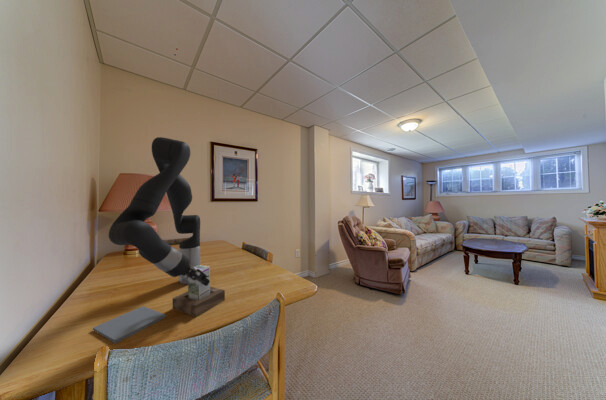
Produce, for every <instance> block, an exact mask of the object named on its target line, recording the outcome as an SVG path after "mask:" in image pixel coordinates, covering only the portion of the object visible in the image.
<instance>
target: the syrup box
mask: <svg viewBox="0 0 606 400" xmlns="http://www.w3.org/2000/svg"><path fill="white" fill-rule="evenodd" d="M194 268H195V269H196V270H197V269H200V270H201V271H202V272H203V273H204V274H205V275H207V277H206V278H207V279H208V280H210V282H209V284H208V285H207V286H205V285H203V284H202V283H200V282H199V281H197V280H191V279H190V278H188V284H187V291H188V298H189V299H193V300H196V301H198V300H200V299H202V298H204V297H206V296H208V295H210V287H211V273H210V272H211V271H210V269H211V268H210V266H209V265H208V266H207V265H201V264H200V265H198V266H195V267H194ZM192 278H194V276H193V277H192Z"/></svg>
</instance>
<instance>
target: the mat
mask: <svg viewBox="0 0 606 400" xmlns="http://www.w3.org/2000/svg"><path fill="white" fill-rule="evenodd" d="M163 319H167V314H165V313H162V312H160V311H157V310H155V309H152V308H149V307H147V306H145V305H143V306H140V307H138V308H135V309H133V310H130V311H129V312H126V313H123V314H122V315H119V316H117V317H114V318H112V319H109V320H107V321H105V322H102V323H100V324H97V325H95V326H93V327H92V331H93V330H94V331H96V332H98V333H99V334H101V335H103V336H104V337H106V338H107V339H106V338H105V339H106V340H108V339H109V340H110V342H111V341H112V342H111V343H113V344H115V345H116V344H118V343H120V342H122V341H123V339H124V340H125V338H126V339H127V338H130V337H131V336H133V335H135V334H137V333H139V332H140V331H143V330H145V329H147V328H149V327H151V326H152V325H154V324H156V323H158V322H160V321H162V320H163ZM94 331H93V332H94ZM96 332H95V333H96ZM98 333H97V334H98ZM99 334H98V335H99ZM101 335H100V336H101ZM103 336H102V337H103ZM104 337H103V338H104ZM109 340H108V341H109Z"/></svg>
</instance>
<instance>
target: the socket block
mask: <svg viewBox="0 0 606 400" xmlns="http://www.w3.org/2000/svg"><path fill="white" fill-rule="evenodd" d="M225 295H226V291H225V290H224V289H223V288H217V287H213V286H210V295H208V296H206V297H204V298H202V299H200V300H198V301H196V300H193V299H189V298H188V290H187V291H186V292H183V293H181V294H178V295H177V296H175V297H172V309H173V310H174V311H177V312H181V313H184V314H186V315H188V316H192V317H194V318H197V317H199V316H200V315H201V314H204V313H205V312H207V311H209V310H210V309H212V308H213V307H215V306H217V305H219V304H221V303H222V302H224V301H225V300H226V297H225Z"/></svg>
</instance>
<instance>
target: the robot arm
mask: <svg viewBox="0 0 606 400" xmlns="http://www.w3.org/2000/svg"><path fill="white" fill-rule="evenodd" d="M151 155H152V157H153V160H154V162H155V164H156V167H157V170H158V171H159V173H157V174H156V175H154V176H152V177H151V178H149V179H148V180H146V181H145V182H144V183H143V184H142V185H140V186H139V188H138V189H137V191H136V192H135V194H134V196H133V198H132V199H131V201H130V203H129V205H128V206H127V207H126V208H125V209H124V210H123V211H122V213H120V214H119V216H118V217H117V218H116V219H115V220H114V221H113V222H112V224H111V225H110V228H109V230H108V238H109V241H110V242H111V243H113V244H115V245H118V246H133V247H135V248H137V249H138V253H139V256H141V257H142V258H143V259H144V260H147V262H149V263H150V264H153V265H154V266H155V267H156V268H158V269H159V270H160V271H162V272H164V273H166V274H167V275H169V276H170V277H172V278H176V277H178V282H179V283H180V284H183V285H188V278H190V279H191V280H197V281H199V282H200V283H202V284H203V285H205V286H207V285H208V284H209V282H210V283H211V279H210V280H208V279H207V278H206V277H207V275H205V274H204V273H203V272H202V271H201V270H200V269H197V270H196V269H195V268H194V267H195V266H198V265H201V218H200V216H199V214H198V215H197V214H189V215H184V212H185V211H186V209H187V208H188V207H189V206H190V204H191V203H192V201H193V194H192V189H191V185H190V184H189V182H188V181H187V180H186V179H185V178H184V177H183V175H181V173H182V172H183V170H184V169H185V167H186V165H188V162H189V160H190V158H191V148H190V145H189V144H188V143H187V142H184V141H181V140H176V139H173V138H169V137H161V136H158V137H156V138H153V141H152V142H151ZM165 195H166V196H167V200H168V202H169V206H170V208H171V211H172V216H173V221H174V227H175V228H174V229H175V231H176V232H177V233H178V234H180V235H186V234H187V235H188V234H192V235H191V236H190V237H188V238H187V239H184V240H181V241H179V243H178V246H179V248H178V249H179V250H178V249H177V248H176V247H173V246H172V245H170V244H169V243H167V242H166V241H165V240H164V239H162V238H161V237H160V235H159V234H158V232H157V231H156V229H154V227H152V226H151V225H150V224H149V223H147V222H145V221H146V220H148V219H149V218H152V217H153V216H154V215H155V214H156V213H157V211H158V209H159V208H160V205H161V203H162V201H163V200H164V197H165ZM193 276H194V278H192V277H193Z"/></svg>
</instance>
